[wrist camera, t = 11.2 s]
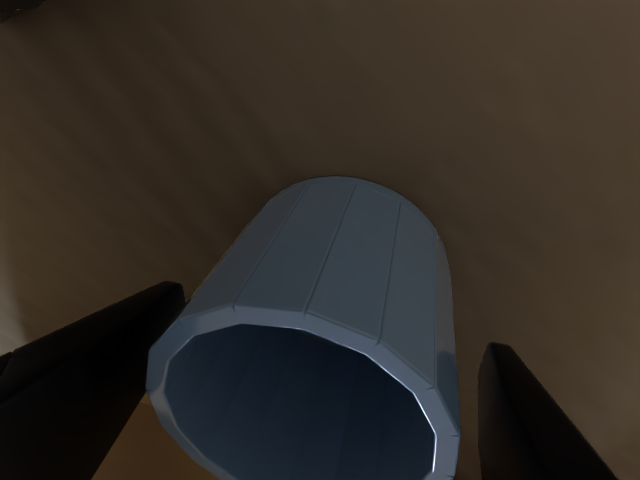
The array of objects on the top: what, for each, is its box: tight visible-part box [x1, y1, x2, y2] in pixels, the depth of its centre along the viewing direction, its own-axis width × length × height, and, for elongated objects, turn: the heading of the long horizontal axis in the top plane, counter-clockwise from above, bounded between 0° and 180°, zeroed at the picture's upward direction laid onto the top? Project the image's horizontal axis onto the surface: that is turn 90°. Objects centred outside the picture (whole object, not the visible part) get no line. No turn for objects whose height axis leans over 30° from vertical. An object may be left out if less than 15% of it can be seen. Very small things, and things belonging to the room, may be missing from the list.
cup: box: [145, 176, 461, 480], centre depth 9 cm, size 6×6×5 cm
